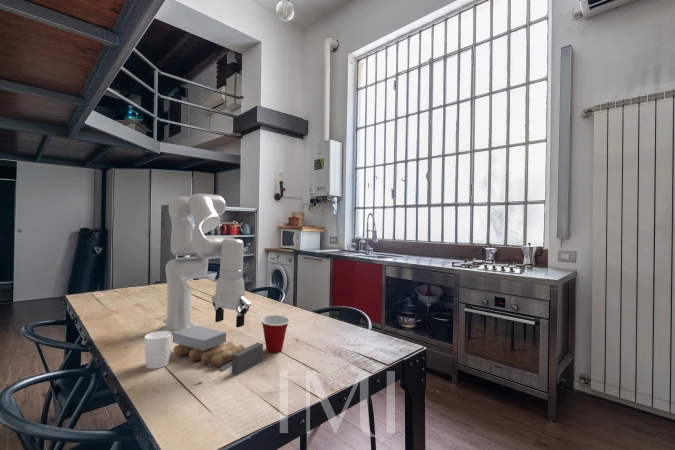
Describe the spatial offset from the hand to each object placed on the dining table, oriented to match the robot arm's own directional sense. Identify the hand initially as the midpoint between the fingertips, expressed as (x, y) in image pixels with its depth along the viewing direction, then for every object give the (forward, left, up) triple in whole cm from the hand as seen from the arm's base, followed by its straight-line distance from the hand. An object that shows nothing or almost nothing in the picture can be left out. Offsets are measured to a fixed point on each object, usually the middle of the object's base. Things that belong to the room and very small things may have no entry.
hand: (229, 323), depth 111 cm
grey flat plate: (+1, 0, -13) cm, 13 cm away
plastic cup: (+8, +16, -13) cm, 22 cm away
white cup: (-19, -14, -13) cm, 26 cm away
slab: (-14, 0, -9) cm, 17 cm away
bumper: (+9, 0, -13) cm, 16 cm away
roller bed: (-11, 0, -13) cm, 17 cm away
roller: (-2, 0, -11) cm, 11 cm away
